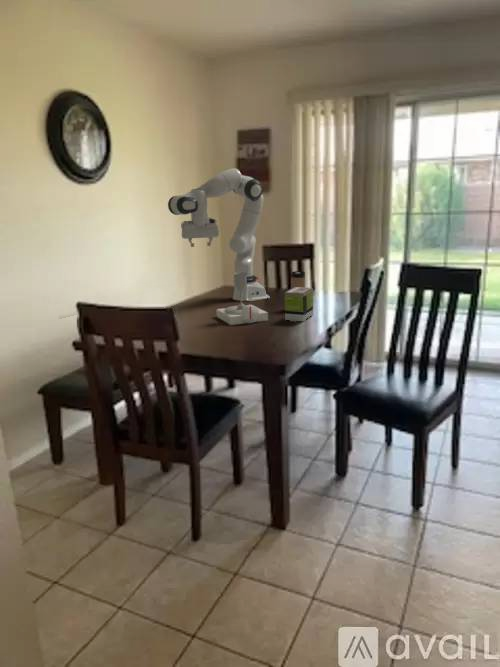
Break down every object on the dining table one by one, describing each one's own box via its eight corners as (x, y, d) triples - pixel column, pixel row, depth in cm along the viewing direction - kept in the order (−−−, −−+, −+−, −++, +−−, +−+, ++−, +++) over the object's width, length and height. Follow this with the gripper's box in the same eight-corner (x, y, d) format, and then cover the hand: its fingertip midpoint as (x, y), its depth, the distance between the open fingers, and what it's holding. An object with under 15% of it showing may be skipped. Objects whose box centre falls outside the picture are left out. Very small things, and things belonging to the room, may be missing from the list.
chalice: (234, 307, 256) (233, 272, 251) (248, 307, 256) (247, 272, 251) (234, 310, 249) (233, 274, 244) (248, 310, 249) (247, 274, 244)
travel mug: (306, 307, 276) (306, 271, 270) (303, 310, 269) (303, 273, 264) (292, 306, 278) (292, 271, 273) (289, 309, 271) (289, 273, 266)
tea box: (295, 314, 261) (295, 286, 257) (313, 315, 256) (314, 287, 252) (284, 320, 248) (284, 291, 244) (303, 322, 243) (303, 292, 239)
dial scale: (252, 312, 266) (251, 295, 264) (269, 321, 247) (269, 303, 245) (216, 316, 259) (216, 299, 256) (231, 325, 240) (231, 307, 237)
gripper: (182, 221, 262) (184, 247, 266) (219, 219, 270) (220, 245, 273) (179, 220, 268) (180, 246, 271) (215, 219, 275) (216, 244, 279)
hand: (200, 246), depth 272 cm, fingers open, 8 cm apart
